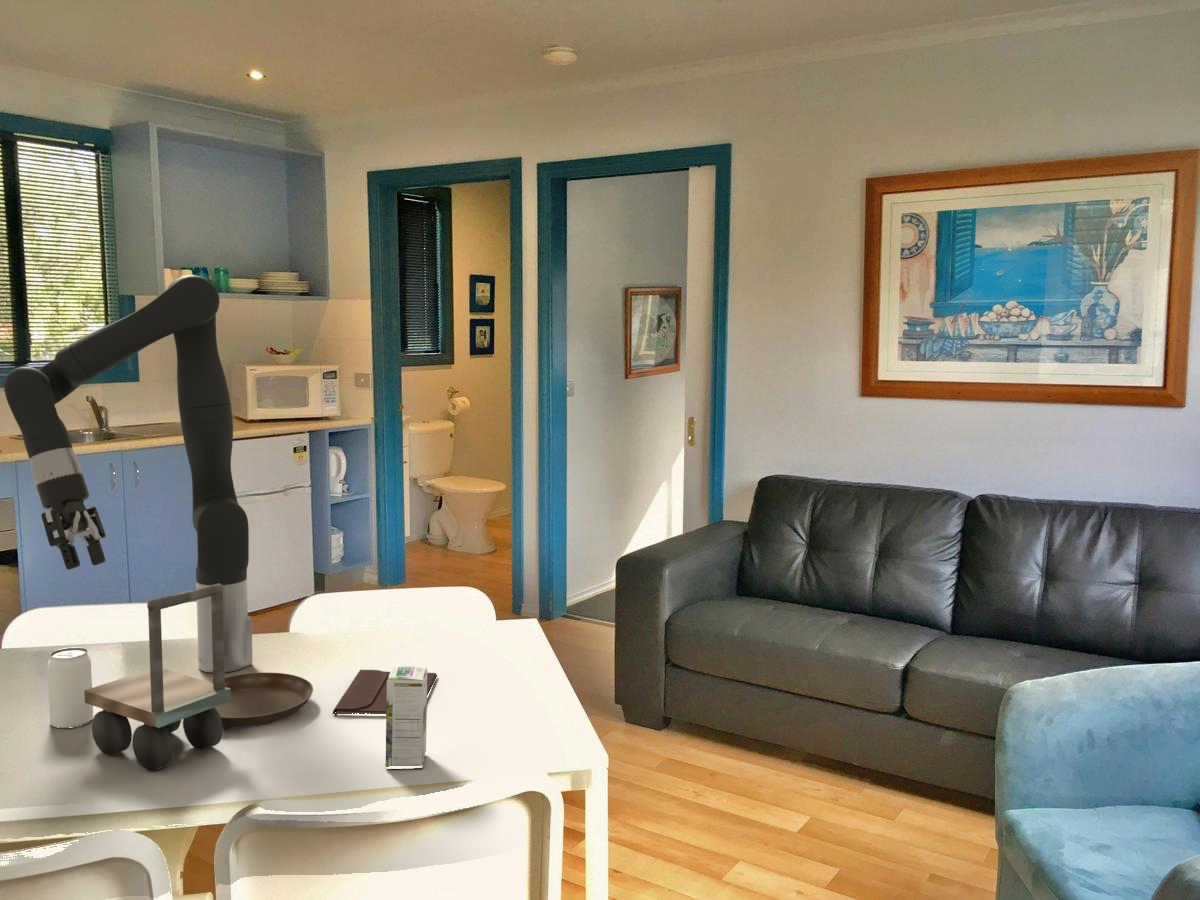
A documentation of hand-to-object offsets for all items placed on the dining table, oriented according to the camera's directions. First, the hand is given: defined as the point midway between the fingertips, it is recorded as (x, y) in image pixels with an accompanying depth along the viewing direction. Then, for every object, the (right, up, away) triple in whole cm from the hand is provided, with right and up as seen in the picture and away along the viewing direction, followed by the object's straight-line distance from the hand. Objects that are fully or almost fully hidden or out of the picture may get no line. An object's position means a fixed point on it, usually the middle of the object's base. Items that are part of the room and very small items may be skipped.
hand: (87, 566), depth 181 cm
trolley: (+20, -27, -18) cm, 38 cm away
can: (+1, -25, -8) cm, 27 cm away
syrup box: (+60, -28, -20) cm, 69 cm away
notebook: (+51, -25, +7) cm, 57 cm away
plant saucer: (+29, -25, -1) cm, 39 cm away
